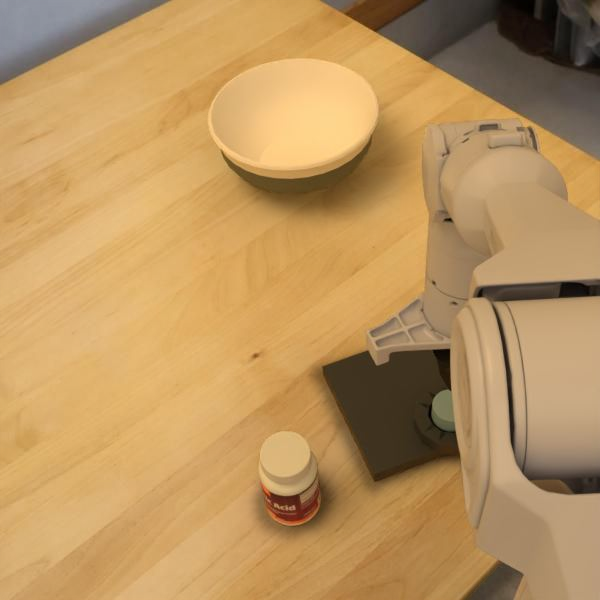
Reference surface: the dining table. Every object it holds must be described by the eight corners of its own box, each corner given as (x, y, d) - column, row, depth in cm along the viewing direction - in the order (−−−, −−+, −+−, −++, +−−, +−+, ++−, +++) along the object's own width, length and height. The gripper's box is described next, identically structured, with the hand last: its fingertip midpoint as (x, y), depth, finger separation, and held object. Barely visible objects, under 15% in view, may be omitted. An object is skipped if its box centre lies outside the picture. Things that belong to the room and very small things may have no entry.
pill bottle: (254, 509, 72) (241, 461, 66) (287, 466, 74) (277, 416, 68) (300, 538, 70) (292, 492, 64) (332, 493, 73) (327, 444, 66)
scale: (496, 447, 74) (499, 429, 72) (379, 492, 72) (379, 476, 70) (429, 336, 82) (431, 317, 80) (322, 374, 80) (321, 356, 78)
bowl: (382, 222, 92) (382, 165, 86) (210, 226, 93) (198, 170, 87) (378, 111, 104) (377, 53, 97) (225, 116, 105) (215, 60, 99)
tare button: (475, 424, 73) (477, 413, 71) (441, 437, 72) (442, 426, 71) (458, 395, 75) (459, 383, 73) (425, 407, 74) (425, 396, 73)
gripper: (531, 199, 62) (510, 313, 73) (347, 260, 60) (352, 370, 70) (585, 266, 58) (554, 377, 68) (388, 335, 55) (387, 439, 66)
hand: (454, 378), depth 69 cm, fingers closed
